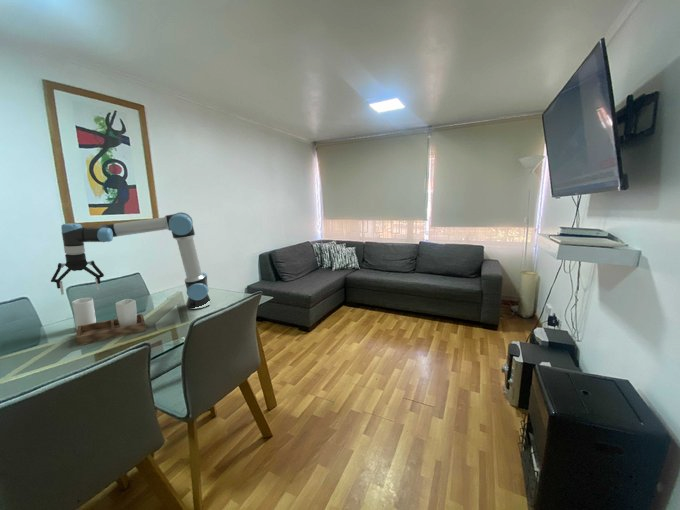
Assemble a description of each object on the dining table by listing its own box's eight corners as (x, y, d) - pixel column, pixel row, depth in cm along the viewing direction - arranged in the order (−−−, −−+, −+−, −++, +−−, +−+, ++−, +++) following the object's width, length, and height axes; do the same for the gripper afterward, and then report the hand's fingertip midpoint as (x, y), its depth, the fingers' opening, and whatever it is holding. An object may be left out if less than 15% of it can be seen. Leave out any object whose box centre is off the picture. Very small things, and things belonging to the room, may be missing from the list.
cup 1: (75, 326, 148) (71, 299, 145) (95, 322, 154) (91, 296, 151) (77, 332, 143) (72, 304, 139) (97, 327, 149) (93, 300, 145)
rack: (143, 320, 160) (142, 313, 159) (145, 330, 149) (145, 322, 148) (79, 333, 142) (77, 326, 141) (77, 345, 131) (75, 337, 130)
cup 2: (116, 328, 147) (113, 303, 144) (129, 322, 154) (126, 298, 151) (127, 330, 146) (124, 305, 143) (139, 324, 153) (137, 300, 150)
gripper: (106, 250, 150) (110, 285, 155) (41, 253, 134) (47, 293, 139) (106, 252, 145) (111, 289, 149) (38, 256, 129) (45, 298, 133)
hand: (80, 291), depth 144 cm, fingers open, 13 cm apart
